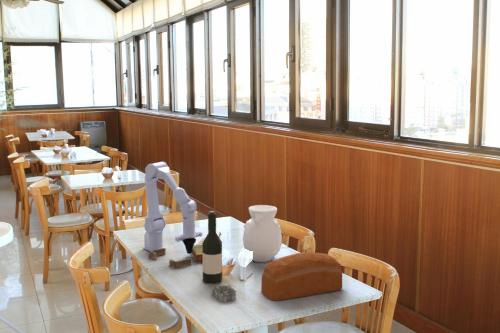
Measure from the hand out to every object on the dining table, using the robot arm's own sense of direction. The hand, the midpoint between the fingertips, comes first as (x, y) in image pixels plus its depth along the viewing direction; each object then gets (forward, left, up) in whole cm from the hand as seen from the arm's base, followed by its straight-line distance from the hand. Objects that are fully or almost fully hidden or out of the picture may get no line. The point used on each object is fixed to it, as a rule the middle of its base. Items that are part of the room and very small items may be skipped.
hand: (189, 253), depth 278 cm
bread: (+67, +6, -2) cm, 68 cm away
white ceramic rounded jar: (+27, +23, -2) cm, 35 cm away
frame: (0, -11, -1) cm, 11 cm away
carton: (+5, +4, -2) cm, 7 cm away
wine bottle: (+34, -13, -2) cm, 36 cm away
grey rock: (+51, -21, -2) cm, 55 cm away
